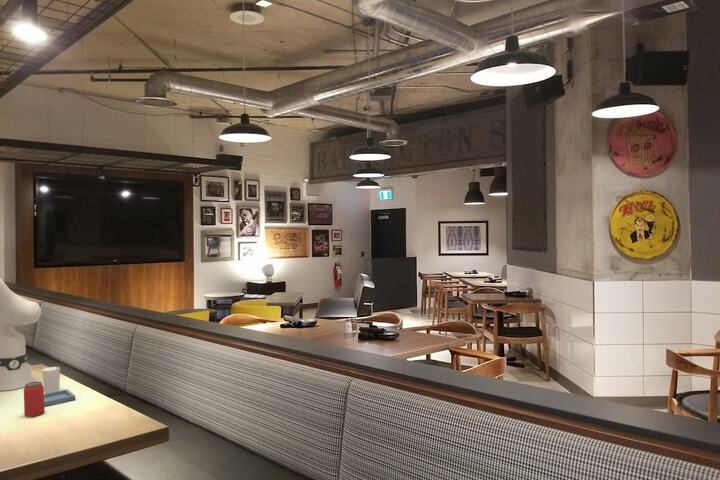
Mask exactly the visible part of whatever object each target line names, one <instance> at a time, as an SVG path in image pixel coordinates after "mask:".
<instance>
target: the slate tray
mask: <svg viewBox="0 0 720 480" xmlns="http://www.w3.org/2000/svg"><path fill="white" fill-rule="evenodd" d="M74 401H76V395H75V394H74V393H73V392H72V391H71V390H69V389H68V388H65V389H63V390H59V391H56V392H51V393H44V408H46V407H50V406H51V407H52V406H55V405H60V404H64V403H68V402H74Z"/></svg>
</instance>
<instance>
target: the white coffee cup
mask: <svg viewBox="0 0 720 480" xmlns="http://www.w3.org/2000/svg"><path fill="white" fill-rule="evenodd" d="M60 371H61V367H59V366H50V367H46V368H43V369H42V370H41V372H42V385H43V387H44V394H46V393H51V392H56V391H60V381H61V380H60V378H61V376H60V374H61V372H60Z"/></svg>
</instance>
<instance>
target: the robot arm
mask: <svg viewBox="0 0 720 480" xmlns="http://www.w3.org/2000/svg"><path fill="white" fill-rule="evenodd" d="M41 316H42V307H41V305H40V304H39V303H37V302H36V301H32V300H29V299H26V298H24V297H23V296H20V295H18V294H17V293H15V292H14V291H13V290H11V289H10V287H9V286H8V285H7V284H6V283H5V281H4V280H3V279H2V278H1V277H0V392H1V391H3V392H4V391H11V390H17V389H22V388H25V385H26V384H27V383H31V382H37V379H36V378H33V372H32V365H31V364H29V363H28V353H26V351H27V350H26V337H25V336H24V335H23V334H22V333H20V332H18V331H16V329H14V327H13V326H25V325H30V324H31V325H32V324H34V323H37V322H38V321H39V319H40V318H41Z"/></svg>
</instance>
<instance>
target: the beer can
mask: <svg viewBox="0 0 720 480" xmlns="http://www.w3.org/2000/svg"><path fill="white" fill-rule="evenodd" d="M23 388H24V389H23V407H24V408H23V409H24V410H23V411H24V412H23V413H24V416H25V417H27V418H34V417H38V416H41V415H43V414H44V413H45V407H44V394H45V393H44V385H43V381H36V382H31V383H27V384H26V385H25V387H23Z"/></svg>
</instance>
